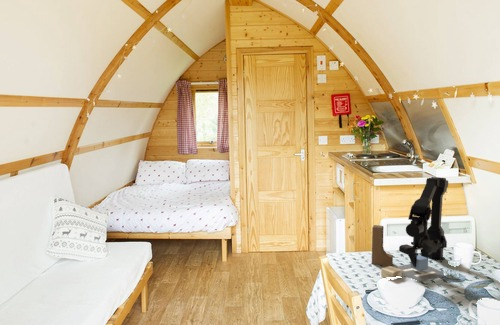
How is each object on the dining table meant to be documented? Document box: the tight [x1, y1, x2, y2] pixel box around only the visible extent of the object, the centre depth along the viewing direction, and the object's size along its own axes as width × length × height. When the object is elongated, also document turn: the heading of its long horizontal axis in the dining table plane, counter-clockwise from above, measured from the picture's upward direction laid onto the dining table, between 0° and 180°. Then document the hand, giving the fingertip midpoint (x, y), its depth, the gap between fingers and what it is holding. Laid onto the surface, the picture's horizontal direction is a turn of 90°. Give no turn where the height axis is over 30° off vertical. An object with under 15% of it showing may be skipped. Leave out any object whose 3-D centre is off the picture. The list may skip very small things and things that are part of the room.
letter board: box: [394, 263, 445, 283], centre depth 195 cm, size 18×18×1 cm
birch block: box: [380, 265, 403, 278], centre depth 189 cm, size 6×6×4 cm
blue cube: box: [410, 254, 429, 271], centre depth 194 cm, size 5×5×5 cm
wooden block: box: [371, 224, 394, 267], centre depth 204 cm, size 9×4×18 cm, turn 65°
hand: (419, 266), depth 194 cm, fingers closed on blue cube, 5 cm apart
